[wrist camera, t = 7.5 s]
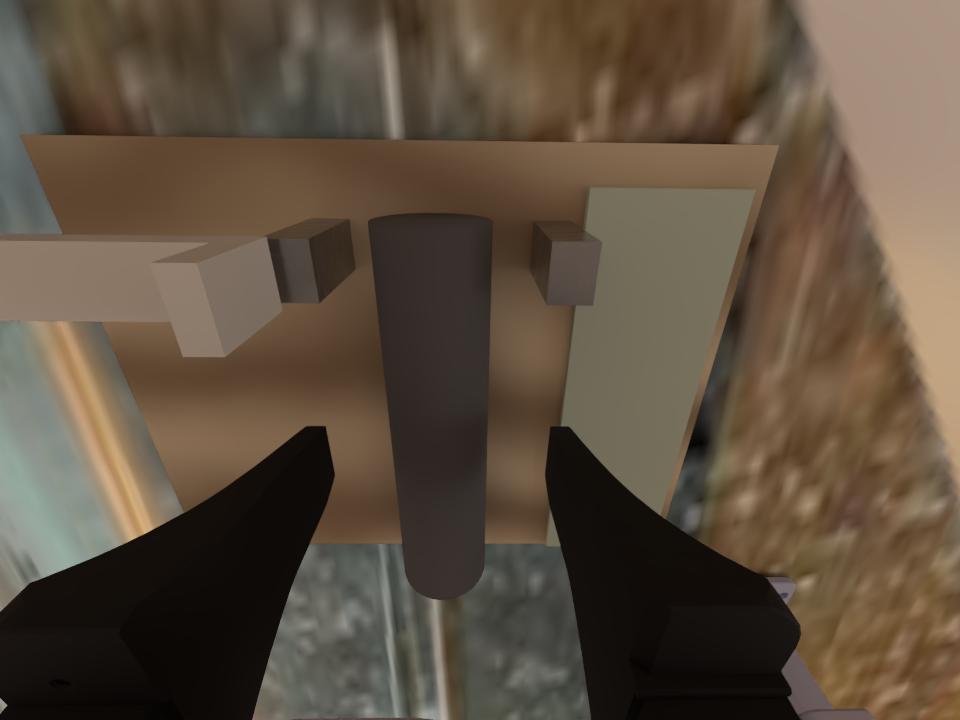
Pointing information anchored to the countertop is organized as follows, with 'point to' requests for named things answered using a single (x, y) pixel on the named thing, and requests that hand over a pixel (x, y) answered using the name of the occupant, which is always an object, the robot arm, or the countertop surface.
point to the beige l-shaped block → (144, 284)
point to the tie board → (354, 318)
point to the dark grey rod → (437, 388)
